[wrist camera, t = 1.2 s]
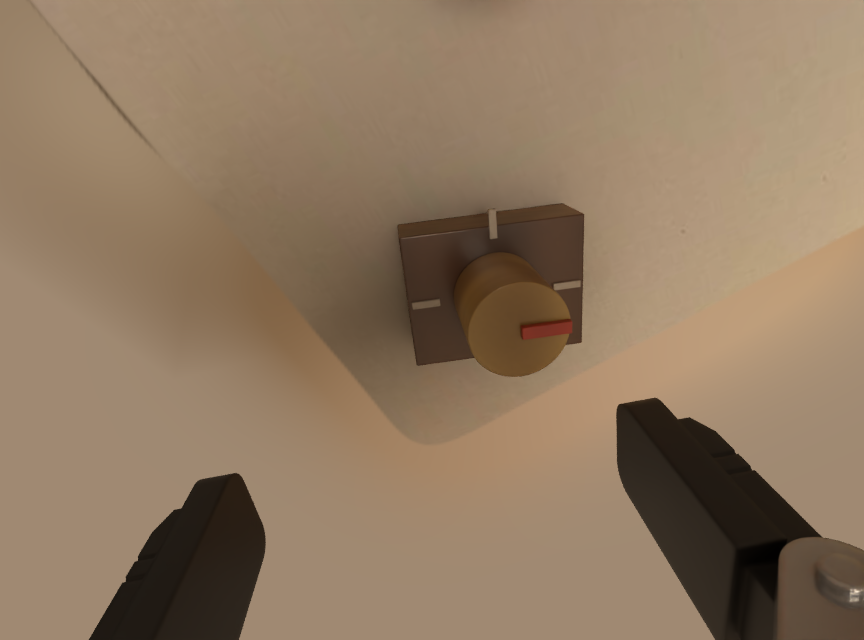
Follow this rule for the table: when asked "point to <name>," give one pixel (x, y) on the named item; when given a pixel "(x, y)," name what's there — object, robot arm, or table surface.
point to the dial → (510, 315)
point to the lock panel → (472, 238)
